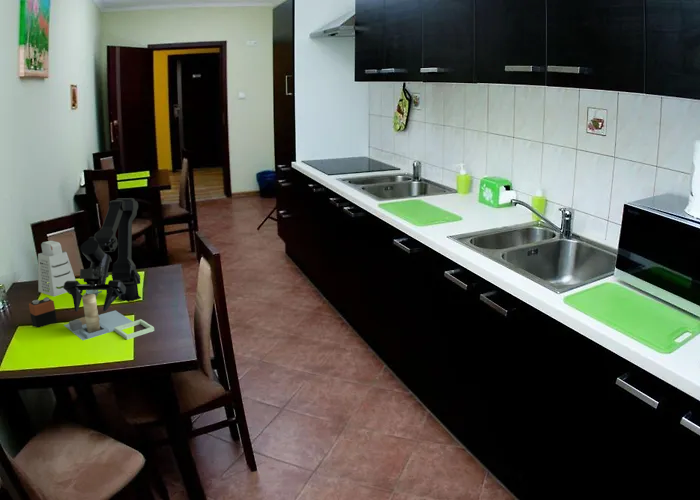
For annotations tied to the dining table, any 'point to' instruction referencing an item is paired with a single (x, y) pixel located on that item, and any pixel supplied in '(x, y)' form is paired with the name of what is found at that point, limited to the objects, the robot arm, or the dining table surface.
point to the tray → (135, 334)
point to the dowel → (91, 313)
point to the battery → (42, 312)
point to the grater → (53, 269)
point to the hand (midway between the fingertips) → (90, 311)
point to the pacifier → (92, 292)
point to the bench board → (106, 324)
